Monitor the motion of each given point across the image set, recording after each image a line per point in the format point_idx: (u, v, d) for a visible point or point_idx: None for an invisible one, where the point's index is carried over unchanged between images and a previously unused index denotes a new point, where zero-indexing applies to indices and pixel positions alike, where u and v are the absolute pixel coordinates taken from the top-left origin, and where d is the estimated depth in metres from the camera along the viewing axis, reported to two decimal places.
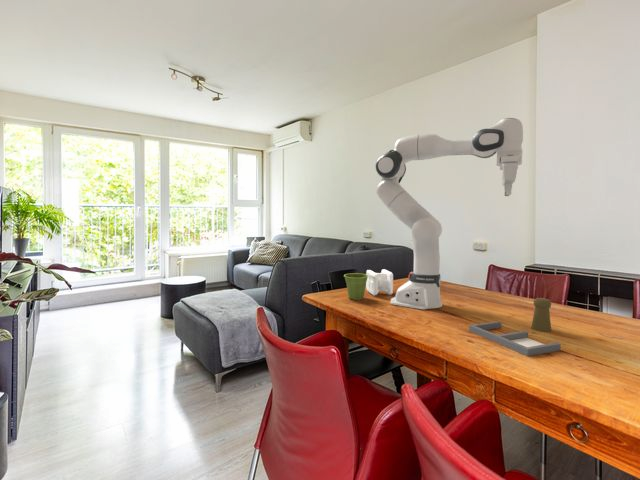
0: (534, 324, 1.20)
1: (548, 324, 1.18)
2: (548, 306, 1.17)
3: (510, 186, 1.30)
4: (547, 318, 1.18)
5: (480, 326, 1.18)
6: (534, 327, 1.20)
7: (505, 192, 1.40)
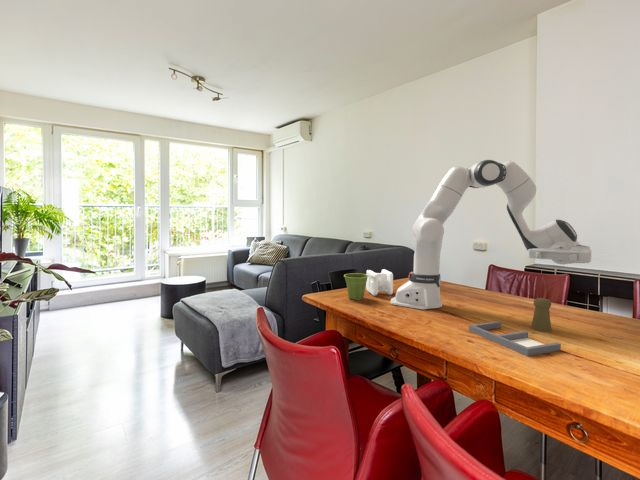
0: (534, 324, 1.20)
1: (548, 324, 1.18)
2: (548, 306, 1.17)
3: (575, 258, 1.24)
4: (547, 318, 1.18)
5: (480, 326, 1.18)
6: (534, 327, 1.20)
7: (542, 253, 1.31)
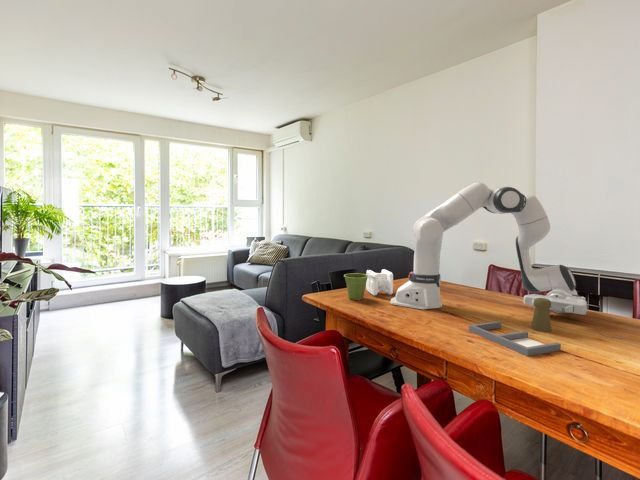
0: (534, 324, 1.20)
1: (548, 324, 1.18)
2: (548, 306, 1.17)
3: (571, 310, 1.24)
4: (547, 318, 1.18)
5: (480, 326, 1.18)
6: (534, 327, 1.20)
7: None
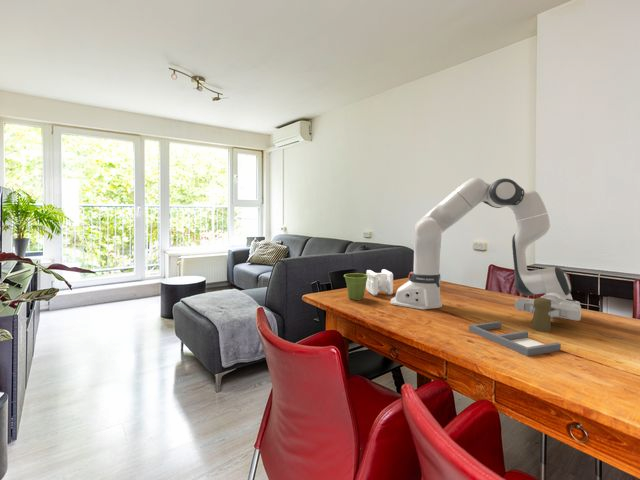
0: (534, 324, 1.20)
1: (548, 324, 1.18)
2: (548, 306, 1.17)
3: (557, 315, 1.18)
4: (547, 318, 1.18)
5: (480, 326, 1.18)
6: (534, 327, 1.20)
7: None
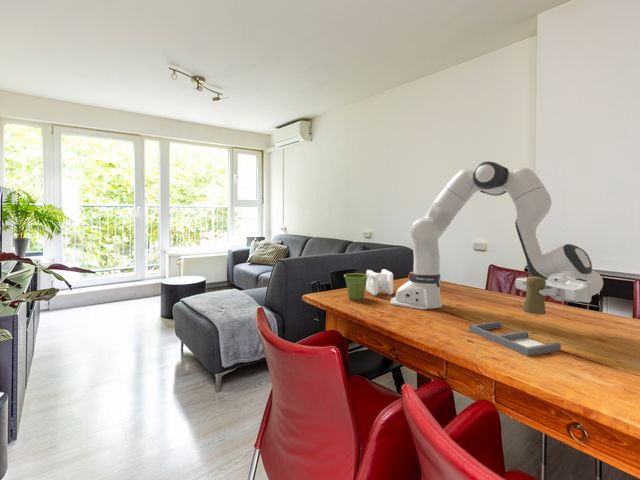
0: (524, 305, 1.06)
1: (538, 306, 1.03)
2: (538, 285, 1.03)
3: (553, 294, 1.02)
4: (537, 299, 1.03)
5: (480, 326, 1.18)
6: (523, 308, 1.06)
7: None
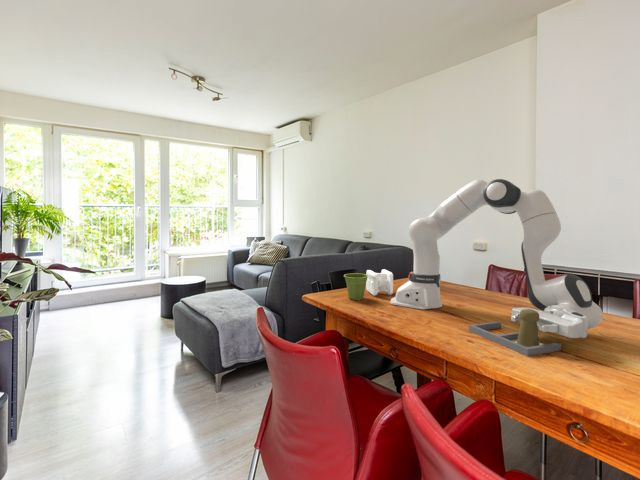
0: (518, 338, 1.05)
1: (531, 340, 1.02)
2: (531, 319, 1.02)
3: (553, 330, 0.99)
4: (530, 333, 1.02)
5: (480, 326, 1.18)
6: (517, 341, 1.05)
7: (518, 317, 1.08)
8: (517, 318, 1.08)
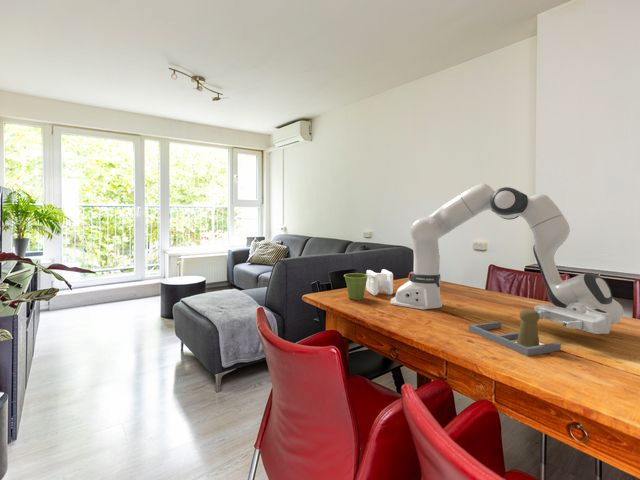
0: (518, 338, 1.05)
1: (531, 340, 1.02)
2: (531, 319, 1.02)
3: (578, 326, 1.03)
4: (530, 333, 1.02)
5: (480, 326, 1.18)
6: (517, 341, 1.05)
7: (542, 314, 1.12)
8: (540, 315, 1.12)
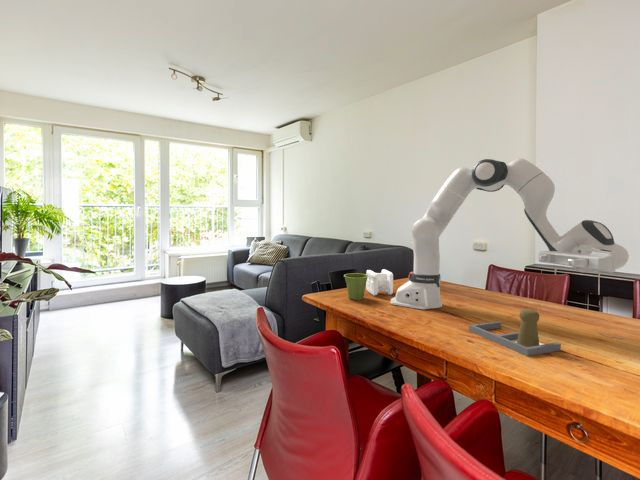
0: (518, 338, 1.05)
1: (531, 340, 1.02)
2: (531, 319, 1.02)
3: (583, 264, 1.02)
4: (530, 333, 1.02)
5: (480, 326, 1.18)
6: (517, 341, 1.05)
7: (546, 256, 1.11)
8: (545, 258, 1.11)
